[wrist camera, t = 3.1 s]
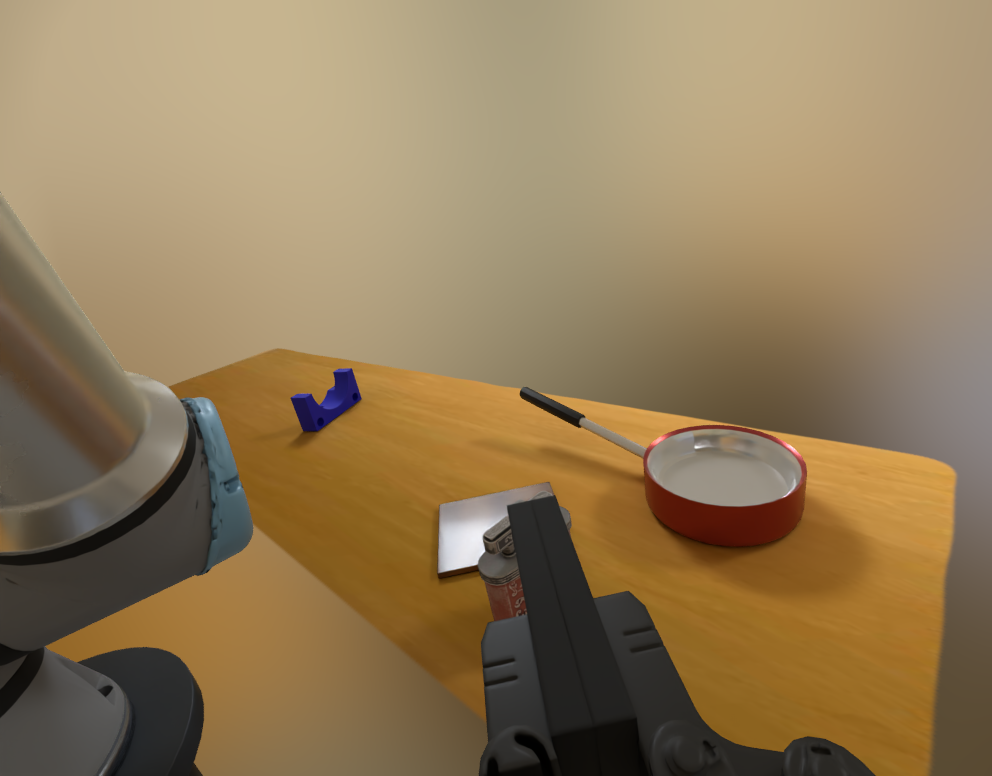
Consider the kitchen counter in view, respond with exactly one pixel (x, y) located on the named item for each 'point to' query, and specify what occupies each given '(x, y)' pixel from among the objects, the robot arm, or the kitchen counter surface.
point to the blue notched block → (327, 402)
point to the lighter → (505, 567)
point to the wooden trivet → (473, 527)
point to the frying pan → (712, 479)
